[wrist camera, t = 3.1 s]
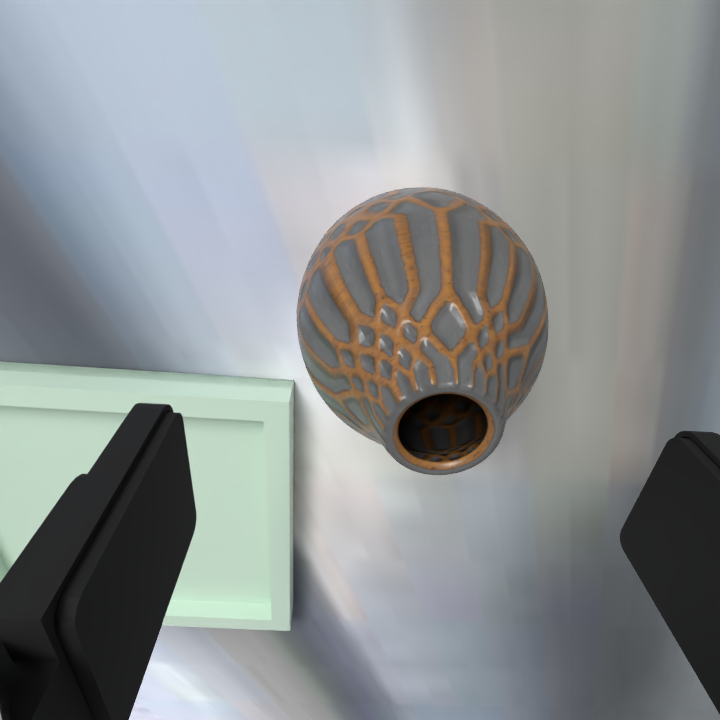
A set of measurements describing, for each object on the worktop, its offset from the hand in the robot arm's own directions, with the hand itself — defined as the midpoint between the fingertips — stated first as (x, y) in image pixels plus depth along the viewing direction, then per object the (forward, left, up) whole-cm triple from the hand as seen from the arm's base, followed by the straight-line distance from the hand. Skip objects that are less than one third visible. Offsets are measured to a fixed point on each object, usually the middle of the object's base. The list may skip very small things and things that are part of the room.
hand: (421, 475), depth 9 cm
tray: (+12, +12, -9) cm, 19 cm away
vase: (0, -1, -9) cm, 9 cm away
